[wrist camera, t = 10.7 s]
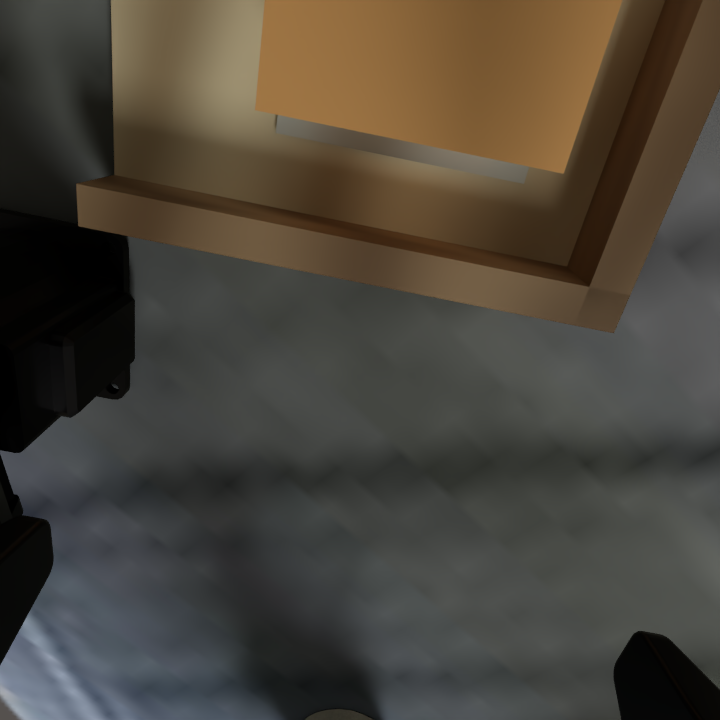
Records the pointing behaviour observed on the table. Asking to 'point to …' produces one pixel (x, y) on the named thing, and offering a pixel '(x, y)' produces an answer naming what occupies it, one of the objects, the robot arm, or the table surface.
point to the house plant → (337, 715)
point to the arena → (401, 168)
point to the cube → (439, 71)
